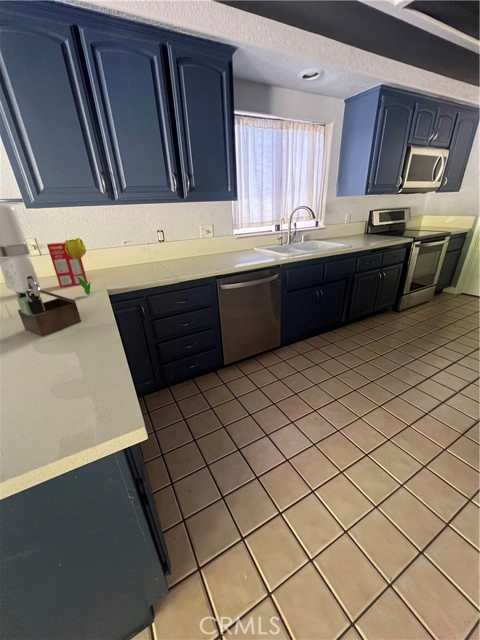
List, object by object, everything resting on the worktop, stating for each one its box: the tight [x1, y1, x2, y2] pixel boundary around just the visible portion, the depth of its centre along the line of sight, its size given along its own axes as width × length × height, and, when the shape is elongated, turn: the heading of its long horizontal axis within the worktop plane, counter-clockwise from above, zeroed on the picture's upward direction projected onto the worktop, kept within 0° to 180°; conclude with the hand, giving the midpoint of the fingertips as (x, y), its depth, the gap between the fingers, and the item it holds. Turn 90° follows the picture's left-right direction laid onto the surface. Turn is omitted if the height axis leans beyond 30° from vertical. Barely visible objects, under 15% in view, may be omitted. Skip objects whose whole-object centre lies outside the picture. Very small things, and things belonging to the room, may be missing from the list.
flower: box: [64, 237, 92, 296], centre depth 139 cm, size 9×8×30 cm
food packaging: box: [46, 241, 89, 288], centre depth 159 cm, size 15×5×25 cm, turn 122°
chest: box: [17, 297, 82, 338], centre depth 108 cm, size 16×13×9 cm
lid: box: [29, 288, 76, 303], centre depth 105 cm, size 16×13×1 cm
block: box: [16, 296, 45, 316], centre depth 81 cm, size 4×4×4 cm
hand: (33, 310), depth 81 cm, fingers closed on block, 4 cm apart
